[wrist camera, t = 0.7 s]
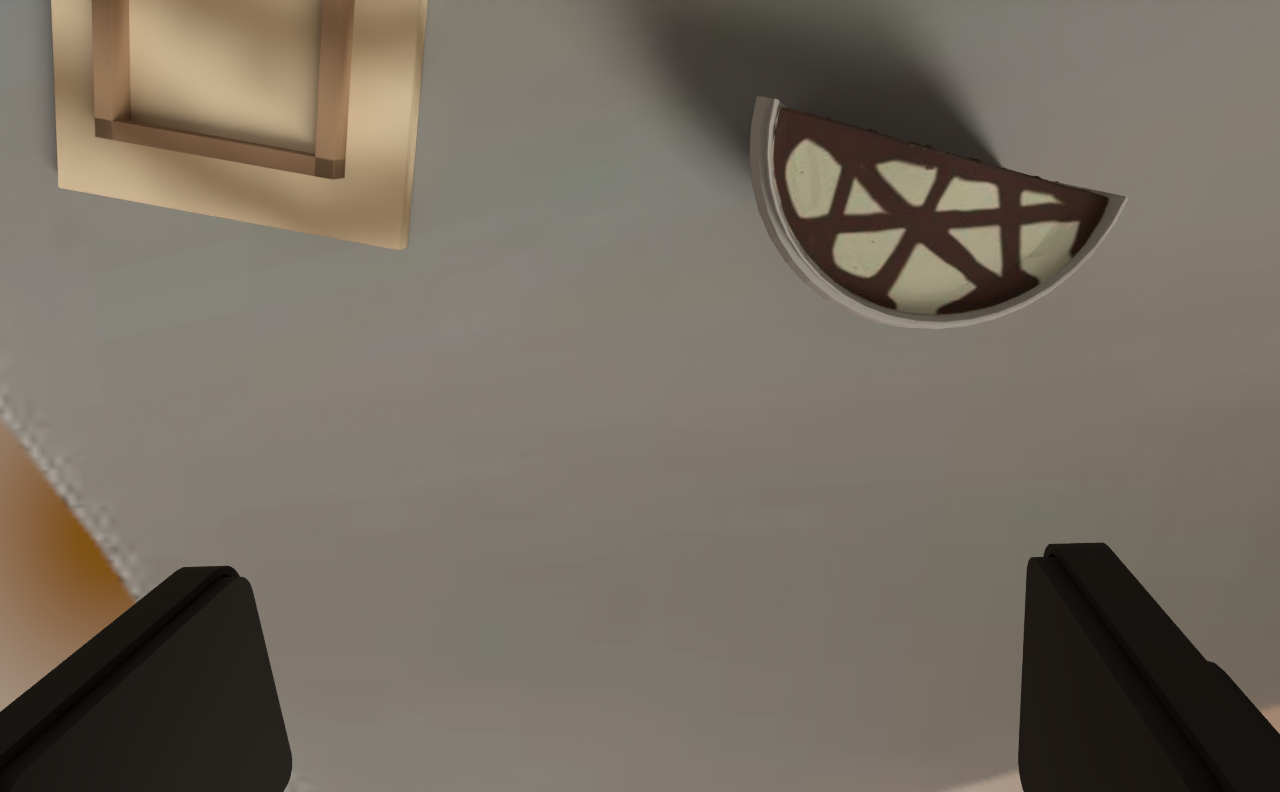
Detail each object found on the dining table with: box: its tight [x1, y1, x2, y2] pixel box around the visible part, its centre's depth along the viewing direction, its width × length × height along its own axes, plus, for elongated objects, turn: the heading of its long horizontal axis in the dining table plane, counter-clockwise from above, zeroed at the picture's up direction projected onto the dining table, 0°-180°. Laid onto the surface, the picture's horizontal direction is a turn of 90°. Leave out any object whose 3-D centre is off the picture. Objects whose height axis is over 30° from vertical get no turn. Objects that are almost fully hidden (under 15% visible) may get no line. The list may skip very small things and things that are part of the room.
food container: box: [749, 96, 1129, 329], centre depth 33 cm, size 12×6×10 cm, turn 75°
